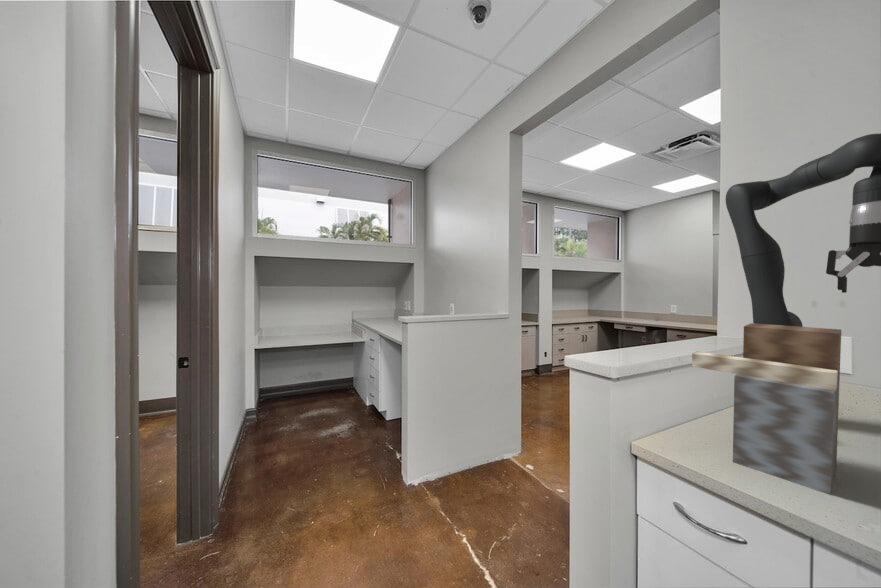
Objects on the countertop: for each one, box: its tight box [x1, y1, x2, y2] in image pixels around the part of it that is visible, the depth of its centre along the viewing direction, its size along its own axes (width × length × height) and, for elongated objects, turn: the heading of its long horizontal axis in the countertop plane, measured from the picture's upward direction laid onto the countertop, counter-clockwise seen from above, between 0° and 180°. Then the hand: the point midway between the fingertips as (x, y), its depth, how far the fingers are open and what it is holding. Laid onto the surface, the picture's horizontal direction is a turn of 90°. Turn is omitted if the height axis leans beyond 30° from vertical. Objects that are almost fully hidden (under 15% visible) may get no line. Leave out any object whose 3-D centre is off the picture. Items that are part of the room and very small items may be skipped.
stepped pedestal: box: [732, 322, 842, 495], centre depth 75 cm, size 15×16×32 cm
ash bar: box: [691, 351, 838, 391], centre depth 76 cm, size 24×4×4 cm, turn 36°
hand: (873, 292), depth 75 cm, fingers open, 8 cm apart
